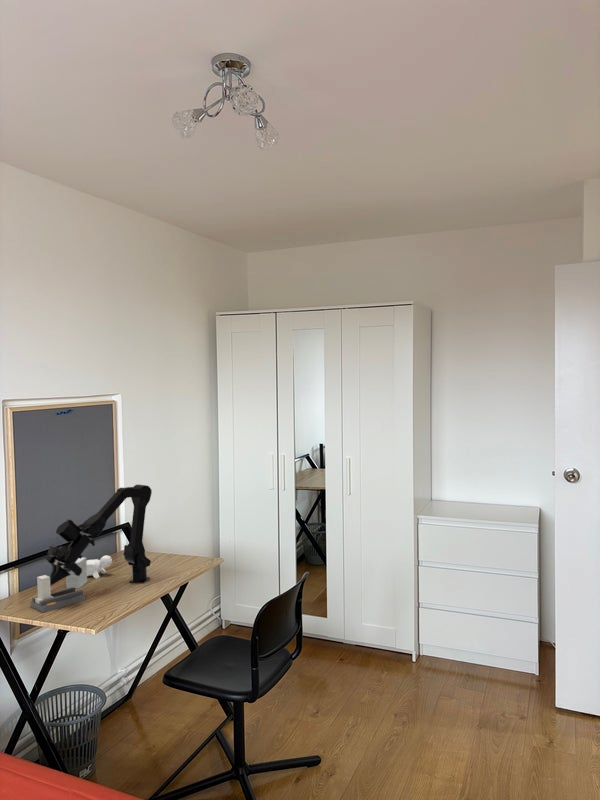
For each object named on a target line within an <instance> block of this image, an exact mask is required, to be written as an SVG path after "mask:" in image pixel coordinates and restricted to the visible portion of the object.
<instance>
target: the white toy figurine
mask: <svg viewBox="0 0 600 800" xmlns="http://www.w3.org/2000/svg"><path fill="white" fill-rule="evenodd" d="M86 561H87V577H92V576H93V578H94V579H96V580H98V579H99V578H100V577H101V576H100V575H99V573H100V574H106V572H107V570H105V568H108V567H110V566H111V565H112V562H113V559H112V557H111V556H110V555H103V556H101V557H100V559H99V558H95V559H86Z"/></svg>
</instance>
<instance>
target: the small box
mask: <svg viewBox="0 0 600 800" xmlns="http://www.w3.org/2000/svg"><path fill="white" fill-rule="evenodd" d="M75 564H77V565H78V566H79V567H80V568H82V573H81V574H80V576H76V575H75V573H74V572H72V571H71V572H70V574H71V575H70V576H67V577H65V582H66V584H65V585H66V586H65V587H66V589H67V588H71V587H75V589H81V588H82V587H83V586H84V585H85V584H86V583H88V576H87V557H82V558H81V559H80V558H78V560H77V561H76V562H75Z"/></svg>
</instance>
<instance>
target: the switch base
mask: <svg viewBox="0 0 600 800" xmlns="http://www.w3.org/2000/svg"><path fill="white" fill-rule="evenodd" d="M51 596H53V598H50V599H46V600H42V601H39V604H38V603H36V602H35V598H38V595H37V596H34V597H31V601H30V608H33V609H35V610H37V611H39V612H41V613H47V612H49V611H53V610H57V609H60V608H64V607H67V606H71V605H74V604H77V603H81V602H85V600H86V596H85V594H84V590H83V589H79V590H76V588H75V587H71V588H67V587H66V588H64V589H59V590H57V591H53V592H51Z"/></svg>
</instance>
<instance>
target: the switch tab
mask: <svg viewBox="0 0 600 800" xmlns="http://www.w3.org/2000/svg"><path fill="white" fill-rule="evenodd" d="M36 582H37V587H36V588H37V596H38V598H35V602H36V603H38V604H39V601H42V600H46V599H50V598H53V596H51V593H52V592H51V591H52V590H51V589H52V588H51V586H50V576H49V575H47V574H44V575H40V576H36Z"/></svg>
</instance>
